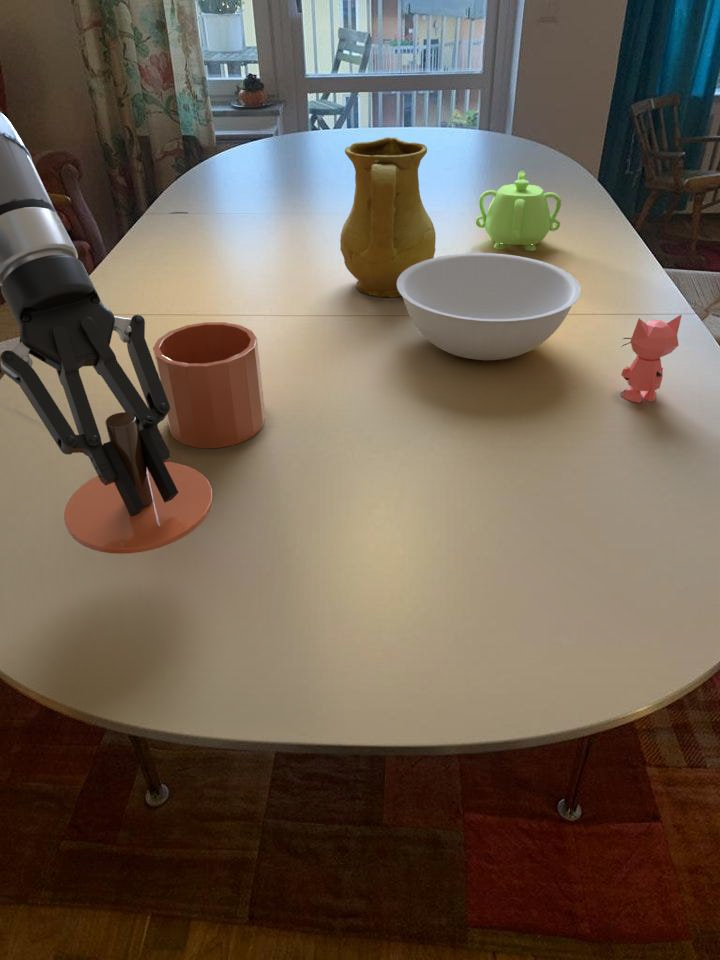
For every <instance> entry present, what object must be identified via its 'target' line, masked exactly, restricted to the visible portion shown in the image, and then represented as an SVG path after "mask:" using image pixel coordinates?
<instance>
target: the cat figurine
mask: <svg viewBox="0 0 720 960" xmlns="http://www.w3.org/2000/svg"><path fill="white" fill-rule="evenodd" d="M681 320H682V313H681V314H679V315H677V316H676V317H675V318H673V319H671V320H670V321H668V322H666V321H663V320H659V319H651V320H648V321H646V322H645V321H643V320H642V319H641V318H639V317H638V319H637V321H636V324H635V328H634V330H633V332H632V336H631V337H623V338H622V340H630V342H627V343H625V344H623V345H621V346H620V348H622V347H623V346H626V345H629V344H630V345H631V350H632V351H633V352H634V353H635V354H636V357H635V358H634V359H633V361H632V362H631V364H630V366H628V365H627V366H626V367H625V368H623V369H622V371H621V374H620V376H622V378H624V380H626V382H627V385H628V386H630V387H628V388H625V389H624V390H622V391H620V397H622V398H623V399H626V400H628V401H630V402H633V403H638V404H640V403H642V402H643V401H642V398H643V399H644V400H646V401H647V402H654V401H656V400H657V392H656V391H657V390H659V389H661V385H662V381H663V370H664V368H663V367H662V360H661V358H663V357H665V356H667V355H670V354H672V353H673V352H674V351H675V350H676V348H678V347H679V340H678V339H679V338H678V334H679V328H680V324H681Z"/></svg>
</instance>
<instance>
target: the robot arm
mask: <svg viewBox="0 0 720 960" xmlns="http://www.w3.org/2000/svg"><path fill="white" fill-rule="evenodd" d="M78 258H79V253H78V251H77V248H76V247H75V245H74V243H73V241H72V239H71V236H70V235H69V234H68V231H67V230H66V227H65V225H64V224H63V222H62V220H61V218H60V216H59V214H58V212H57V210H56V209H55V207H54V205H53V203H52V200H51V198H50V197H49V194H48V192H47V190H46V187H45V186H44V184H43V181H42V179H41V177H40V175H39V173H38V171H37V169H36V166H35V165H34V162H33V157H32V156H31V153H30V151H29V150H28V148H27V147H26V146H25V144H24V142H23V141H22V138H21V137H20V135H19V134H18V132H17V130H16V129H15V127H14V125H13V124H12V122H11V121H10V120H9V119H8V118H7V116H5V115H4V114H3V113H2V111H0V292H1V295H2V296H3V298H4V299H3V300H4V301H5V303H6V305H7V307H8V309H9V311H10V313H11V315H12V317H13V319H14V321H15V323H16V325H17V327H18V330H19V343H18V344H17V345H16V346H14V347H13V348H12V349H11V350H10V349H8V350H7V349H6V350H4V351H2V352H1V355H0V371H1V372H2V373H3V374H4V375H6V376H7V377H8V378H9V379H11V380H12V381H13V382H14V383H16V384H17V385H18V386H19V387H20V389H21V390H22V392H23V394H24V395H25V396H26V398H27V400H28V401H29V404H31V406H32V408H33V409H34V411H35V413H36V414H37V415H38V417H39V418H40V420H41V422H42V423H43V425H44V426H45V429H46V430H47V431H48V433H49V434H50V436H51V437H52V439H53V441H54V442H55V443H56V445H57V447H58V448H59V450H60V451H61V452H62V454H64V455H72V454H84V455H85V456H87V457H88V458H89V460H90V463H91V464H92V466H93V468H94V470H95V472H96V476H98V477H99V479H100V481H101V482H102V483H103V484H104V485H105V486H106V485H108V484H111V483H115V485H116V487H117V489H118V491H119V493H120V495H121V498H122V500H123V502H124V504H125V506H126V508H127V510H128V512H129V514H130V516H131V517H132V516H135V515H137V514H139V513H140V512H141V511H142V509H143V508H144V505H143V503H142V501H141V499H140V497H139V495H138V493H137V491H136V489H135V487H134V485H133V483H132V481H131V479H130V477H129V475H128V473H127V471H126V469H125V466H124V464H123V462H122V460H121V458H120V456H119V454H118V452H117V450H116V448H115V446H114V444H113V442H112V441H110V440H109V441H107V442H104V443H102V437H101V434H100V431H99V428H98V426H97V422H96V419H95V416H94V412H93V410H92V406H91V404H90V401H89V398H88V395H87V393H86V390H85V387H84V384H83V380H82V377H81V374H80V369H81V368H84V367H93V369H94V371H95V372H96V374H97V375H99V376H100V377H101V378H102V379H103V381H104V382H105V384H106V385H107V387H108V389H109V390H110V392H111V393H112V395H113V396H114V397H115V399H116V401H117V402H118V403H119V405H120V406H121V408H122V409H123V412H128V413H132V414H134V415H135V416H136V420H137V425H138V429H139V434H140V438H141V443H142V448H143V452H144V457H145V462H146V466H147V468H148V470H149V472H150V474H151V476H152V478H153V480H154V482H155V484H156V486H157V488H158V490H159V492H160V494H161V496H162V498H163V500H164V502H168V501H170V500H172V499H173V498H174V497H175V496H176V495H177V494H178V493H179V492H178V490H177V488H176V486H175V484H174V482H173V480H172V478H171V476H170V474H169V472H168V470H167V468H166V466H165V464H164V462H169V461H168V460H169V459H170V458H171V451H170V449H169V447H168V446H167V443H166V442H165V439H164V438H163V435H162V434H161V431H160V429H159V426H158V425H159V424H160V423H161V422H162V421H164V419H165V418H167V417H166V415H167V413H168V412H169V410H170V405H169V402H168V400H167V397H166V394H165V392H164V389H163V386H162V383H161V381H160V378H159V375H158V372H157V367H156V364H155V362H154V359H153V357H152V355H151V351H150V349H149V345H148V344H147V341H146V334H145V332H146V321H145V318H144V316H142V315H140V314H135V315H133V316H132V317H131V318H127V317H122V316H115V314H114V313H113V311H112V310H111V309H110V308H108V307H107V306H106V305H105V304H103V302H102V300H101V298H100V296H99V294H98V291H97V290H96V287H95V286H94V283H93V281H92V279H91V277H90V276H89V274H88V272H87V269H86V268H85V265H84V263H83V262H82V261H81V260H80V259H78ZM114 331H115V332H116V333H117V334H118V336H119V339H120V340H121V341H122V342H123V343H124V344H126V347H127V353H128V356H129V359H130V361H131V364H132V366H133V370H134V372H135V375H136V378H137V380H138V383H139V386H140V387H141V388H140V389H141V391H142V395H143V396H144V399H145V400H144V399H143V398H142V396H141V395H140V393H139V391H138V390H137V388H136V387H135V385H134V384H133V382H132V380H130V378H129V376H128V375H127V374H126V372H125V370H124V369H123V368H122V366H121V365H120V363H119V362H118V360H117V356H116V354H115V352H114V350H113V349H112V348H111V346H110V345H111V340H112V336H113V332H114ZM30 355H31V356H32V357H34V358H36V359H38V360H39V361H41V362H43V363H44V364H46V365H48V366H50V367H52V368H53V369H55V371H56V374H57V377H58V380H59V382H60V385H61V386H62V388H63V391H64V395H65V397H66V401H67V403H68V406H69V409H70V413H71V416H72V419H73V421H74V425H75V427H76V430H77V434H76V433H75V432H74V430H73V428H72V426H71V425H70V424H69V422H68V420H67V419H66V417H65V415H64V414H63V413H62V411H61V409H60V408H59V406H58V404H56V401H55V400H54V398H53V397H52V395H51V394H50V392H49V391H48V389H47V387H46V386H45V385H44V383H43V381H42V379H41V377H39V375H38V373H37V372H36V371H35V369H34V368H33V363H34V362H33V359H32V358H31V356H30Z"/></svg>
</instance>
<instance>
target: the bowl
mask: <svg viewBox="0 0 720 960" xmlns="http://www.w3.org/2000/svg"><path fill="white" fill-rule="evenodd" d="M397 289H398V291H399V293H400V294H401V295H402V296H401V297H402V299H403V303H404V306H405V308H406V311H407V313H408V316H409V317H410V319H411V321H412V322H413V324H414V326H415V328H417V330H418V331H419V332H420V333H421V334H422V336H423V337H424V338H425V339H426V340H428V341H429V342H430V343H431V344H432V345H434V346H435V347H437V348H439V349H440V350H442V351H444V352H445V353H448V354H450V355H453V356H457V357H460V358H464V359H468V360H475V361H499V360H507V359H511V358H515V357H518V356H521V355H524V354H526V353H528V352H531V351H532V350H535V349H536V348H538V347H539V346H540V345H542V344H543V343H545V342H546V341H547V340H548V339H549V338H550V337H551V336H552V335H553V334H554V333H555V332H556V331H557V330H558V329H559V328H560V326H561V325H562V323H563V322H564V321H565V319H566V318H567V316H568V314H569V312H570V311H571V308H572V306H573V305H575V304H576V303H577V301H578V300H579V299H580V298H581V294H582V287H581V285H580V283H579V281H578V280H577V279H576V278H575V277H574V275H572V274H571V273H569V272H567V271H566V270H564V269H563V268H560V267H558V266H557V265H553V264H551V263H549V262H545V261H542V260H539V259H534V258H531V257H530V258H529V257H526V256H520V255H514V254H513V255H512V254H503V253H492V252H491V253H489V252H469V253H456V254H448V255H441V256H437V257H434V258H432V259H428V260H425V261H422V262H419V263H417V264H415V265H413V266H411V267H409V268H407V269H406V270H405V271H403V272H402V273H401V274H400V276H399V277H398V279H397Z"/></svg>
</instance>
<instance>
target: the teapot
mask: <svg viewBox="0 0 720 960" xmlns="http://www.w3.org/2000/svg"><path fill="white" fill-rule="evenodd" d="M487 196H494V197H493V199H492V200H491V202H490V204H489V206H488V209H487V212H486V210H485V209H486V208H485V204H484V199H485V198H486V197H487ZM547 198H553V199H554V200H555V201H556V205H555V208H554V210H553V212H552V214H551V211H550V207H549V203H548V199H547ZM478 206H479V210H480V213H481V215H479V216H477V217H476V219H475V226H476V227H477V228H480V229H485V232H486V234H487V236H488V237H489V239H490V240H491V241H493V242H494V243H495V244H494V245H493V248H494V249H497V250H504V249H506V248H507V246H508V245H515V246H516V245H517V246H522V247H523V250H525V251H527V252H528V251H529V252H530V251H531V252H532V251H533V252H534V251H536V250H537V248H536V245H537V244H539V243H541V242H542V241H543V240H544V239H545V238H546V236H547V235H548V233H549V232H556V231H558V230H559V229H560V227H561V222H560V220H559V219H558V218H556V217H557V216H558V214H559V212H560V209H561V207H562V199H561V197H560V195H558V194H557V193H555V192H553V191H547V192H544V189H543V188H542V187H540V186H539V185H535V184H530V181H529V180H527V179H526V172H525V170H523V169H521V170H519V171H518V174H517V180H514V183H511V184H510V183H508V184H504V185H502V186H500V187H499V188H498V190H494V189H488V190H486V191H483V193H482V194H480V196H479V199H478ZM480 220H482V222H480ZM553 223H555V224H556V225H555V226H553ZM500 243H503V244H500ZM531 244H533V245H531Z"/></svg>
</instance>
